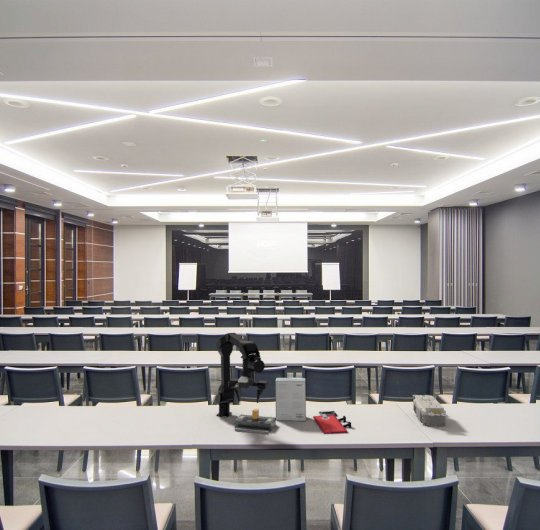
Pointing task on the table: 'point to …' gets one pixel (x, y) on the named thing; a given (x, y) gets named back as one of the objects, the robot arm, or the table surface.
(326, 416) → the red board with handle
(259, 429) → the dark grey thin bar
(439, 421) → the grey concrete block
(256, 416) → the lever
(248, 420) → the strip
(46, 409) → the table surface
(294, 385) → the hard drive box
